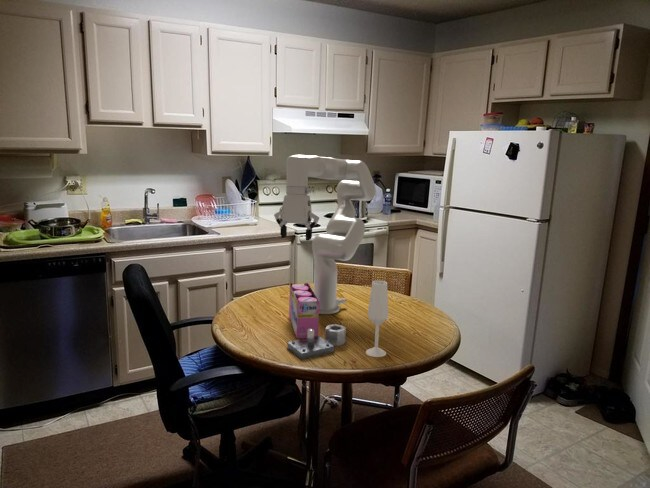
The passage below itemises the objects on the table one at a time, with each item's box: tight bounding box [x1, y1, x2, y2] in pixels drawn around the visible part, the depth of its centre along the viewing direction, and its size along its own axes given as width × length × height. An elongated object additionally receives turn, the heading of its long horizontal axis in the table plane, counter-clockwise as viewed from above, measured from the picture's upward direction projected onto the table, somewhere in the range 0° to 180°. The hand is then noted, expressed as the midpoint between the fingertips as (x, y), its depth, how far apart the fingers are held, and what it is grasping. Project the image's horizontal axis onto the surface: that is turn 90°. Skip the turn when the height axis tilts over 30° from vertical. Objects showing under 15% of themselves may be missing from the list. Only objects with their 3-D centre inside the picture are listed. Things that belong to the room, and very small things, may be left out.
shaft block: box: [286, 329, 335, 360], centre depth 157 cm, size 12×10×7 cm
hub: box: [324, 323, 347, 347], centre depth 165 cm, size 7×7×5 cm
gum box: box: [288, 282, 320, 339], centre depth 178 cm, size 24×8×14 cm, turn 12°
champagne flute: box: [365, 280, 389, 358], centre depth 155 cm, size 7×7×24 cm
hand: (296, 238), depth 173 cm, fingers open, 9 cm apart
